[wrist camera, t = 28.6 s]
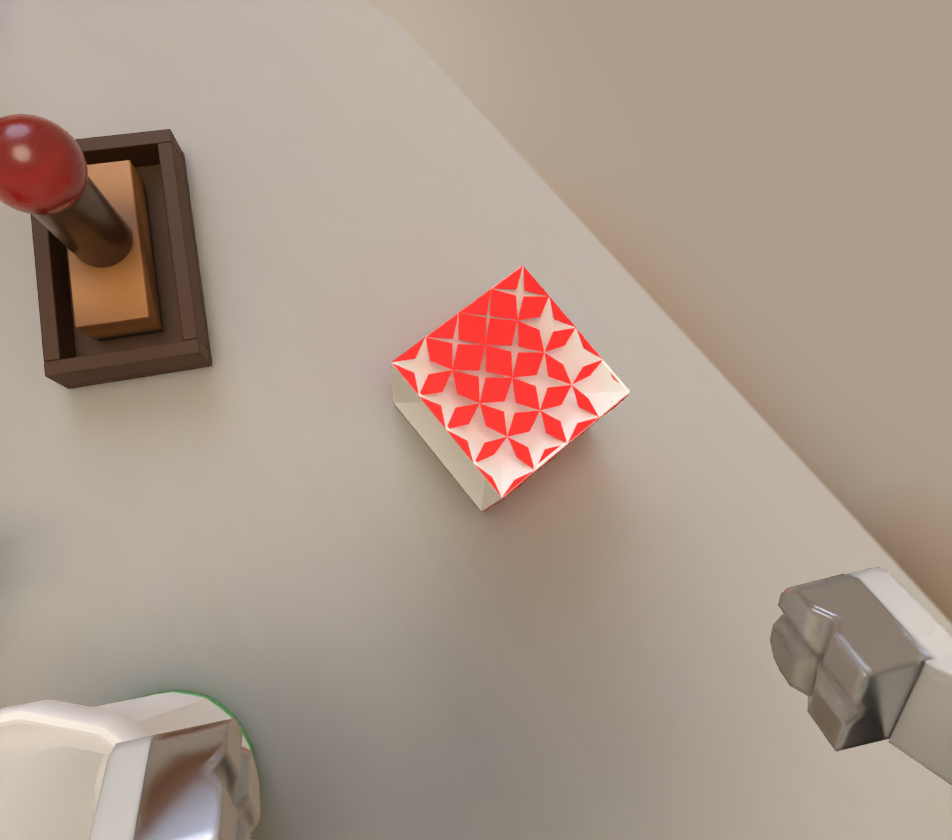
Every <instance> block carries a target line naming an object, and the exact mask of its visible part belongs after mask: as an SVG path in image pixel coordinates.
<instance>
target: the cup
mask: <svg viewBox="0 0 952 840" xmlns="http://www.w3.org/2000/svg"><path fill="white" fill-rule="evenodd" d="M231 718H236V717H235V716H234V715H233V714H231V713H230V712H229V711H228V710H227V709H226V708H224V707H223V706H222V705H220V704H219V703H218V702H216V701H215V700H213V699H212V698H211V697H209V696H204V695H200V694H196V693H190V692H183V691H169V692H162V693H156V694H152V695H147V696H142V697H140V698H136V699H131V700H126V701H121V702H116V703H111V704H106V705H101V706H95V707H89V706H84V705H78V704H73V703H68V702H63V701H58V700H52V699H47V700H42V701H36V702H31V703H25V704H20V705H14V706H8V707H3V708H0V840H89V837H90V833H91V828H92V824H93V820H94V816H95V811H96V807H97V803H98V798H99V794H100V790H101V786H102V781H103V777H104V773H105V769H106V764H107V760H108V757H109V755H110V753H111V752H112V750H113V748H114V746H115V744H116V743H120V742H125V741H129V740H133V739H138V738H142V737H146V736H151V735H155V734H161V733H166V732H171V731H175V730H180V729H185V728H189V727H194V726H198V725H203V724H208V723H212V722H217V721H222V720H226V719H231ZM237 721H238V720H237ZM238 723H239V722H238ZM239 725H240V723H239ZM240 727H241V729H242V731H243V732H242V747H245V748H247V749H249V750H251V752H252V754H253V749H252V744H251V742H250V741H249V739H248V737H247V735H246V733H245V731H244V729H243V728H242V726H241V725H240Z"/></svg>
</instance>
